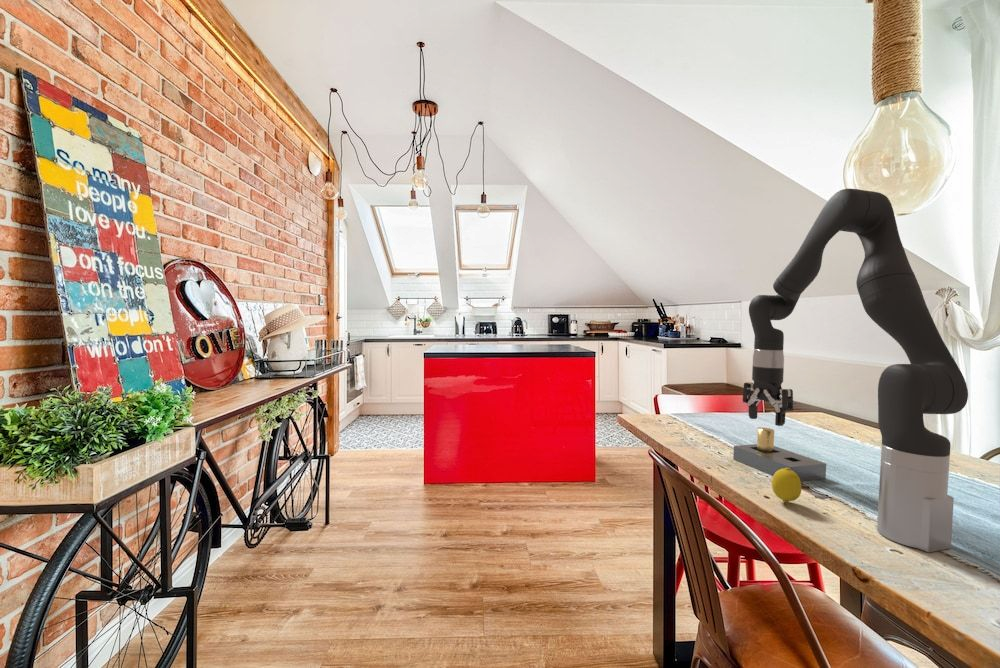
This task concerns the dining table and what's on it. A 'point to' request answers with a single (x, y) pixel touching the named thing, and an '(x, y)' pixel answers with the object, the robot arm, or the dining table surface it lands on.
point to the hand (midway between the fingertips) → (765, 422)
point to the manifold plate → (780, 462)
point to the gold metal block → (765, 440)
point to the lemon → (786, 485)
